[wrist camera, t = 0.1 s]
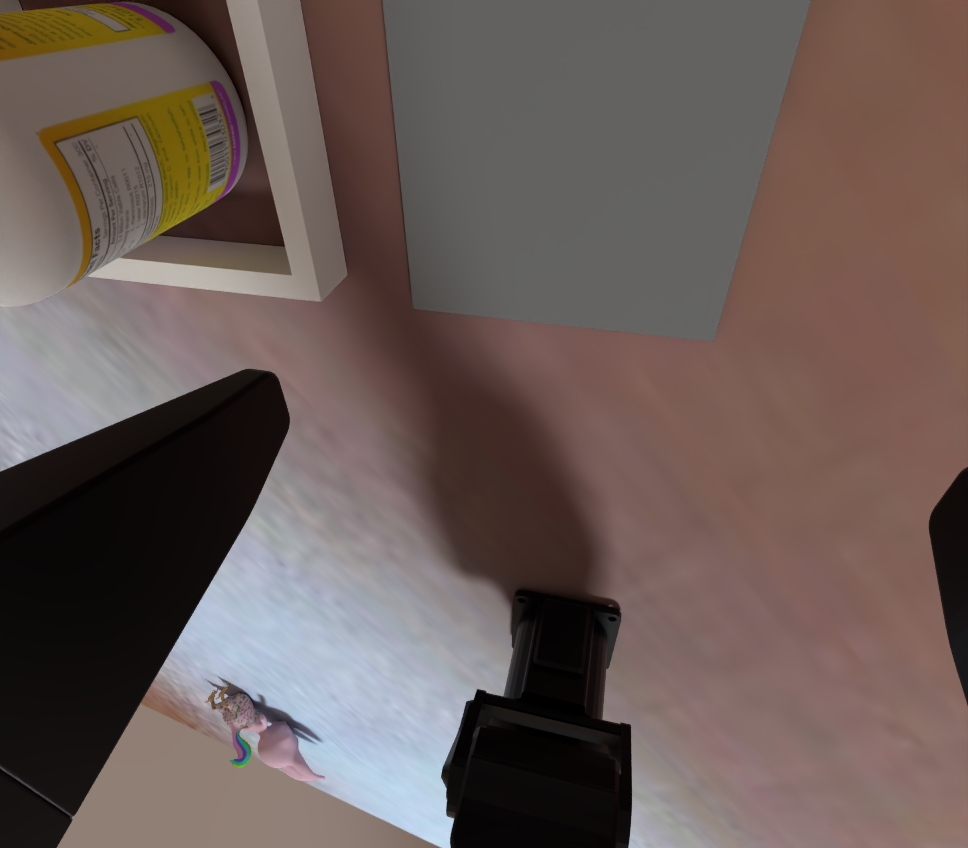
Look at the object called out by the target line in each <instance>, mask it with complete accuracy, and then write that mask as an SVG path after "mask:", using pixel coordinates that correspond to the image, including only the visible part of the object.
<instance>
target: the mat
mask: <svg viewBox="0 0 968 848" xmlns="http://www.w3.org/2000/svg"><path fill="white" fill-rule="evenodd" d="M382 2H383V12H384V22H385V32H386V42H387V52H388V62H389V72H390V82H391V92H392V102H393V112H394V122H395V132H396V142H397V152H398V162H399V172H400V182H401V192H402V202H403V212H404V222H405V232H406V242H407V253H408V263H409V273H410V283H411V293H412V303H413V309H417V310H426V311H436V312H445V313H454V314H463V315H472V316H482V317H491V318H500V319H509V320H518V321H528V322H537V323H546V324H555V325H565V326H574V327H583V328H592V329H601V330H611V331H620V332H629V333H638V334H647V335H657V336H666V337H675V338H684V339H694V340H703V341H712V342H714V339H715V335H716V332H717V328H718V325H719V321H720V318H721V314H722V311H723V307H724V304H725V300H726V297H727V293H728V290H729V286H730V283H731V279H732V276H733V272H734V269H735V265H736V262H737V258H738V255H739V251H740V248H741V244H742V241H743V237H744V234H745V230H746V227H747V223H748V220H749V216H750V212H751V209H752V205H753V202H754V198H755V195H756V191H757V188H758V184H759V181H760V177H761V174H762V170H763V167H764V163H765V160H766V156H767V153H768V149H769V146H770V142H771V139H772V135H773V132H774V128H775V125H776V121H777V118H778V114H779V111H780V107H781V104H782V100H783V97H784V93H785V90H786V86H787V83H788V79H789V76H790V72H791V69H792V65H793V62H794V58H795V55H796V51H797V48H798V44H799V41H800V37H801V34H802V30H803V27H804V23H805V20H806V16H807V12H808V9H809V5H810V2H811V0H382Z"/></svg>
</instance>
